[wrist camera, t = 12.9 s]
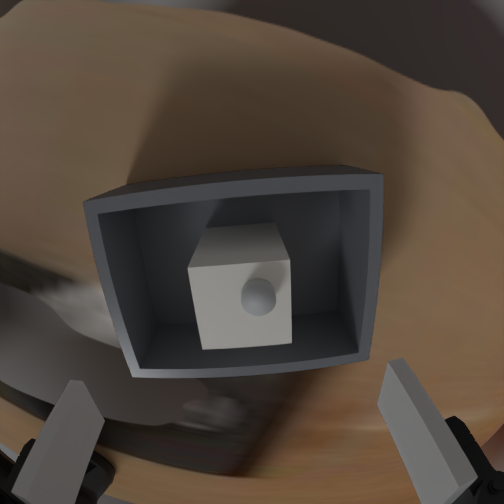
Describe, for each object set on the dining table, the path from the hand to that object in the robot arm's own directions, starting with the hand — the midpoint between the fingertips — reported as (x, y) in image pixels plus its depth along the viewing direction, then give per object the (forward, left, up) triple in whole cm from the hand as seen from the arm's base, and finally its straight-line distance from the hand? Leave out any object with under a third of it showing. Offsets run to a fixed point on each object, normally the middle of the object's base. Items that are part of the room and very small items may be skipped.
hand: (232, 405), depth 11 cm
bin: (0, 0, -18) cm, 18 cm away
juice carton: (0, 0, -17) cm, 17 cm away
